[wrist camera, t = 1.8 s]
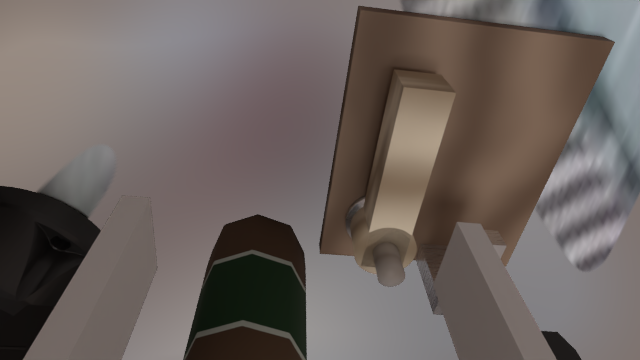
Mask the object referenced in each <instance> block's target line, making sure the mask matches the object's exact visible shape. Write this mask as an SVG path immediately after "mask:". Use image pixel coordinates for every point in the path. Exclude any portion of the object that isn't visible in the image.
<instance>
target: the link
mask: <svg viewBox="0 0 640 360" xmlns="http://www.w3.org/2000/svg"><path fill="white" fill-rule="evenodd" d="M455 95H456V92H455V91H454V90H453V88H452V87H451V86H450V85H449V83H448V82H447V81H446V80H445V79H444V77H443V76H442V75H439V74H430V73H421V72H413V71H404V70H395V69H394V71H393V76H392V80H391V85H390V89H389V94H388V98H387V103H386V107H385V112H384V116H383V121H382V125H381V130H380V134H379V139H378V143H377V148H376V152H375V157H374V161H373V166H372V170H371V175H370V179H369V184H368V188H367V193H366V197H365V202H364V206H363V207H362V208H361V209H359V210H358V211H357V212H356V213H355V214H354V216H353V218H352V220H351V223H350V230H351V237H352V244H353V250H354V257H355V260H356V262H357V264H358V265H359V266H360V267H361V268H362V269H363V270H365V271H367V272H369V273H373V274H377V277H378V281H379V283H380V284H382V285H383V286H388V287H393V286H397V285H399V284H400V283H402V282H403V280H404V279H405V272H404V268H405V267H407V266H408V265H409V264H410V263H411V262H412V261H413V259H414V257H415V255H416V252H417V245H416V242H415V239H414V236H413V230H414V227H415V224H416V221H417V217H418V214H419V211H420V208H421V204H422V201H423V198H424V195H425V192H426V188H427V185H428V182H429V179H430V175H431V172H432V169H433V166H434V163H435V159H436V156H437V153H438V150H439V147H440V143H441V140H442V137H443V134H444V130H445V127H446V124H447V121H448V118H449V114H450V111H451V108H452V105H453V101H454V98H455Z"/></svg>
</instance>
